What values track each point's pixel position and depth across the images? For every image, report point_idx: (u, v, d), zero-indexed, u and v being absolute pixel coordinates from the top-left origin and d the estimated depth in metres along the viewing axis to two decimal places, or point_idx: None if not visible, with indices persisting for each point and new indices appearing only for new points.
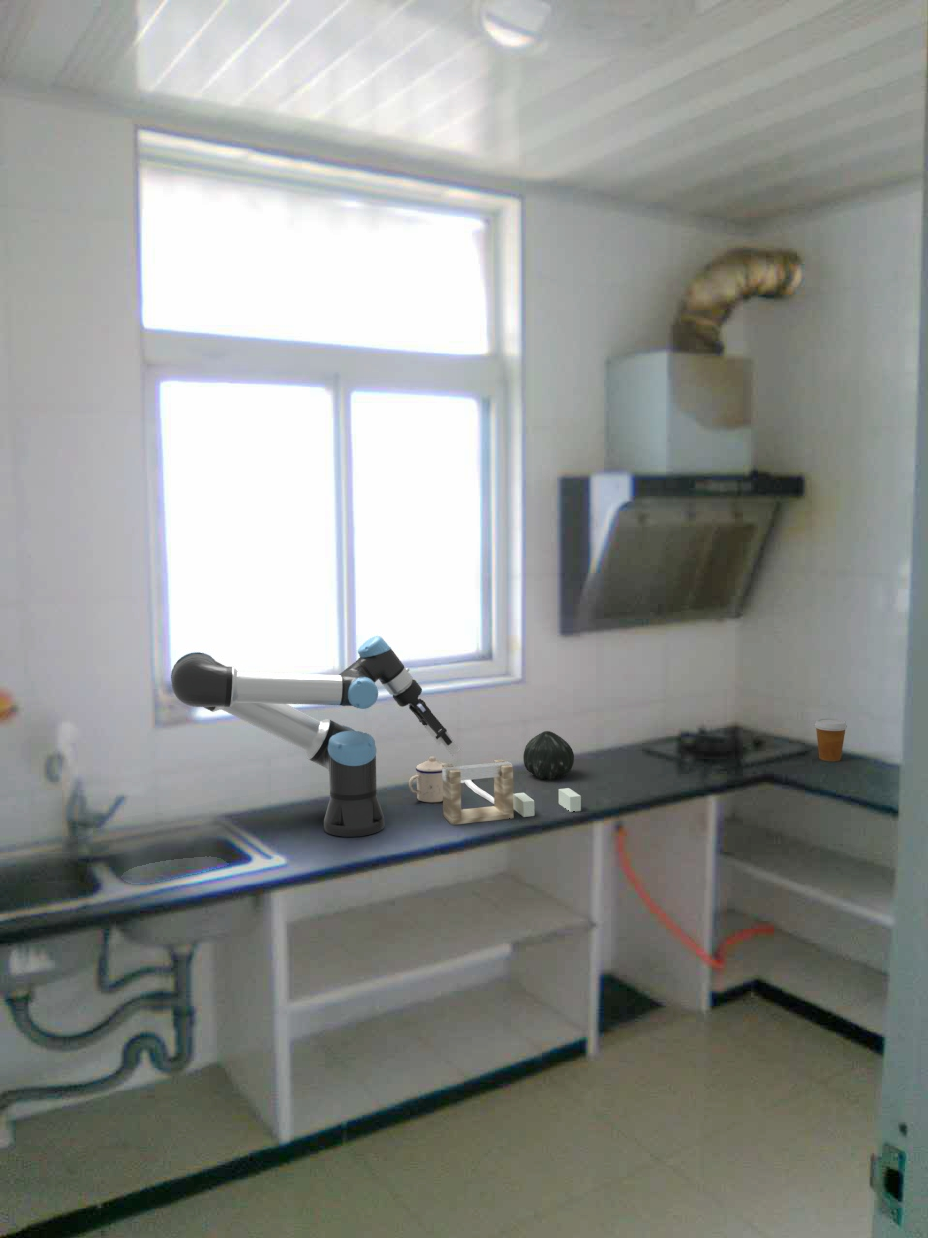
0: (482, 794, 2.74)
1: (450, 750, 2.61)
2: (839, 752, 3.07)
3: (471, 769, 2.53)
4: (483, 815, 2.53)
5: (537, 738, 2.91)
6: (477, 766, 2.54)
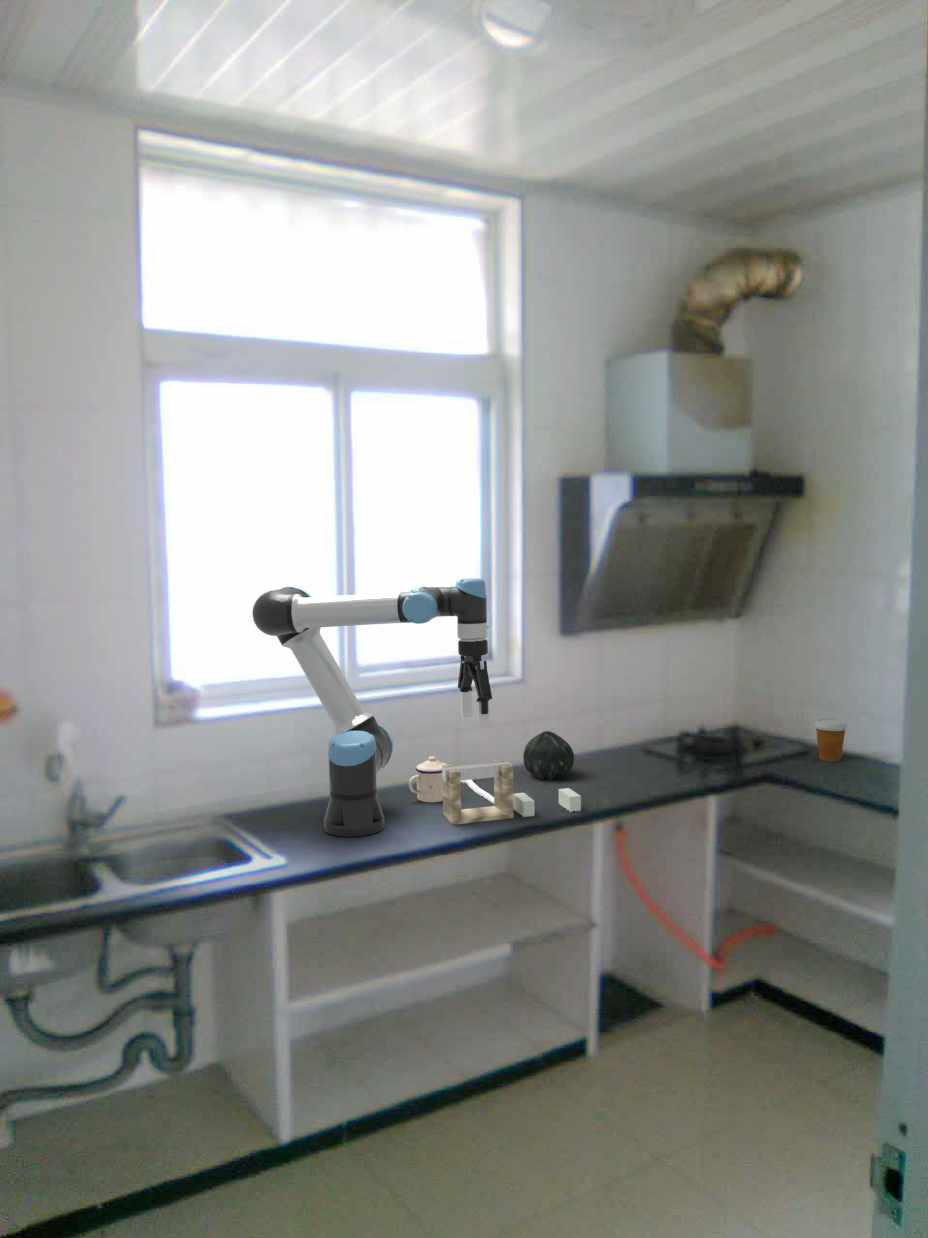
0: (483, 794, 2.74)
1: (480, 720, 2.47)
2: (839, 752, 3.07)
3: (471, 769, 2.53)
4: (483, 815, 2.53)
5: (537, 738, 2.91)
6: (477, 766, 2.54)
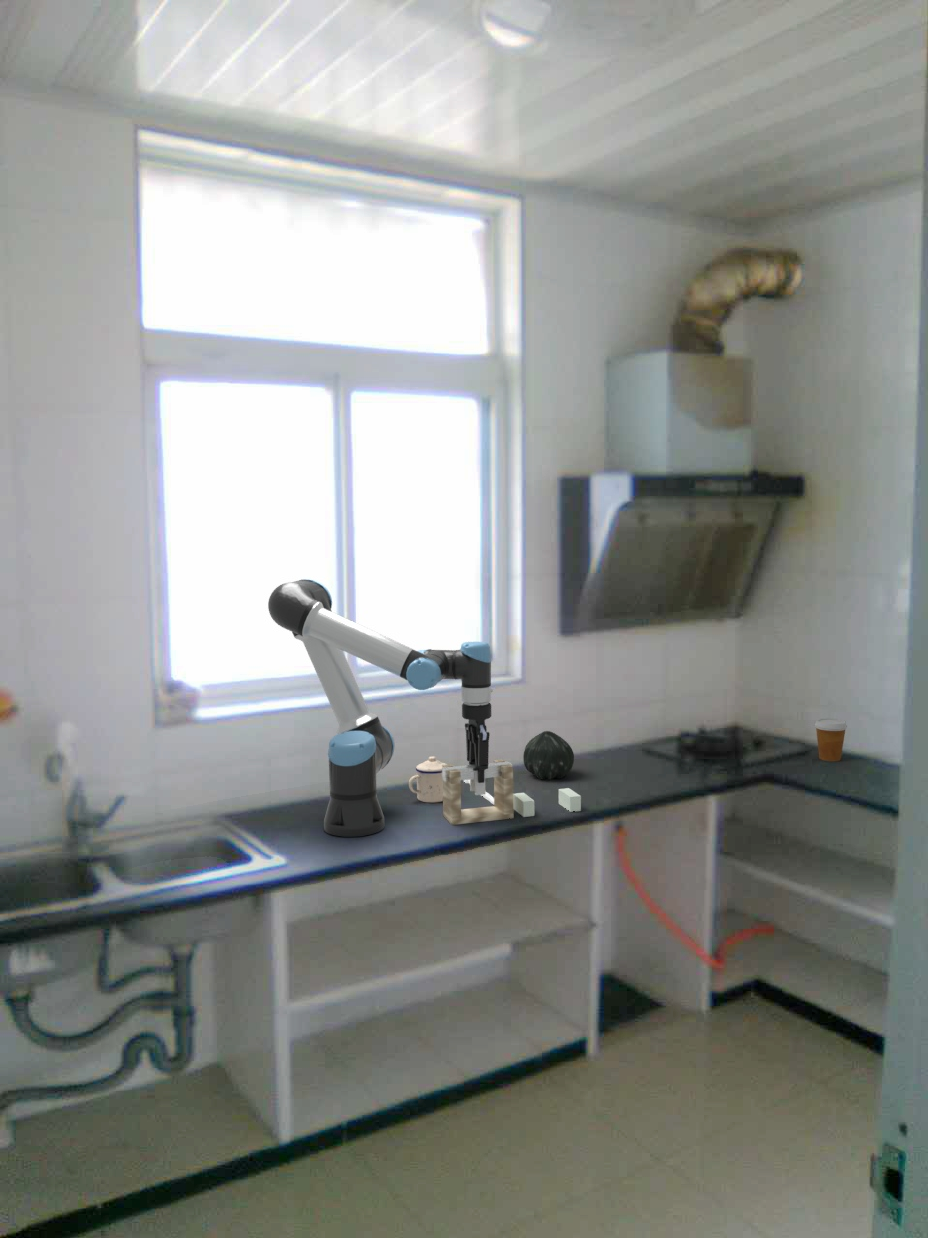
0: (483, 794, 2.74)
1: (477, 788, 2.53)
2: (839, 752, 3.07)
3: (471, 769, 2.53)
4: (483, 815, 2.53)
5: (537, 738, 2.91)
6: None
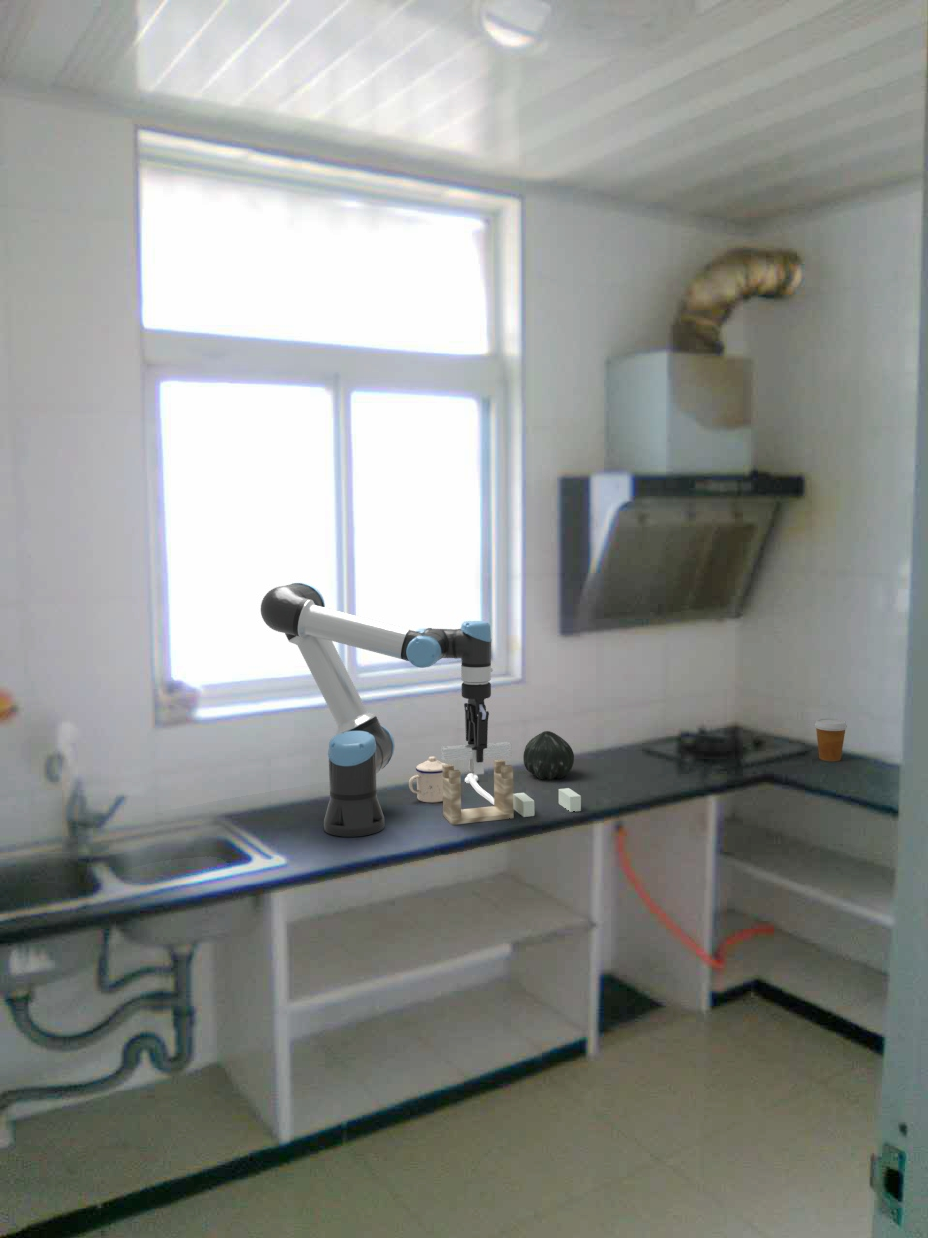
0: (484, 795, 2.73)
1: (475, 768, 2.52)
2: (839, 752, 3.07)
3: (470, 749, 2.52)
4: (483, 815, 2.53)
5: (537, 738, 2.91)
6: None
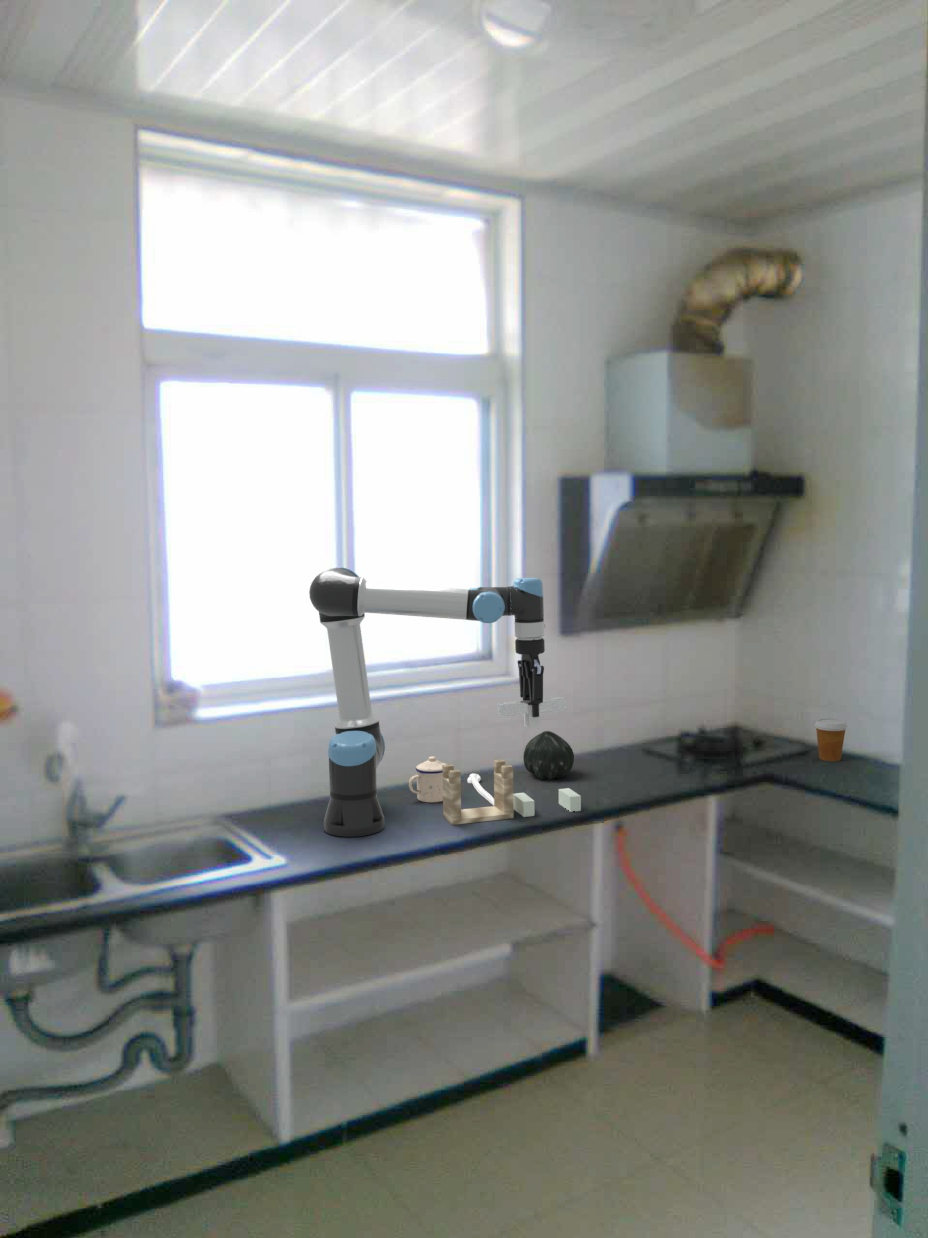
0: (484, 795, 2.73)
1: (531, 723, 2.55)
2: (839, 752, 3.07)
3: (525, 704, 2.55)
4: (483, 815, 2.53)
5: (537, 738, 2.91)
6: None
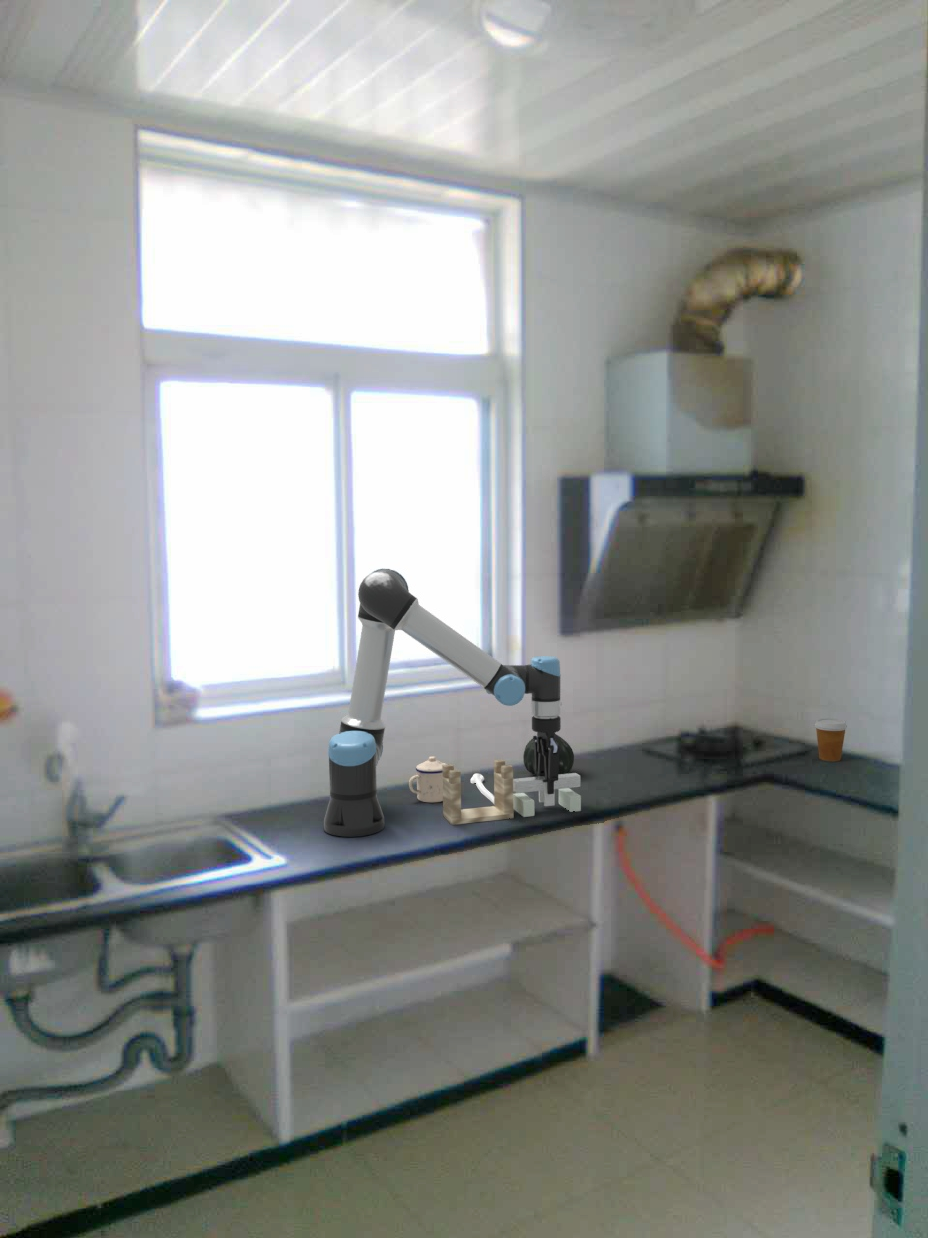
0: (487, 795, 2.73)
1: (546, 800, 2.59)
2: (839, 752, 3.07)
3: (541, 781, 2.59)
4: (483, 815, 2.53)
5: None
6: None
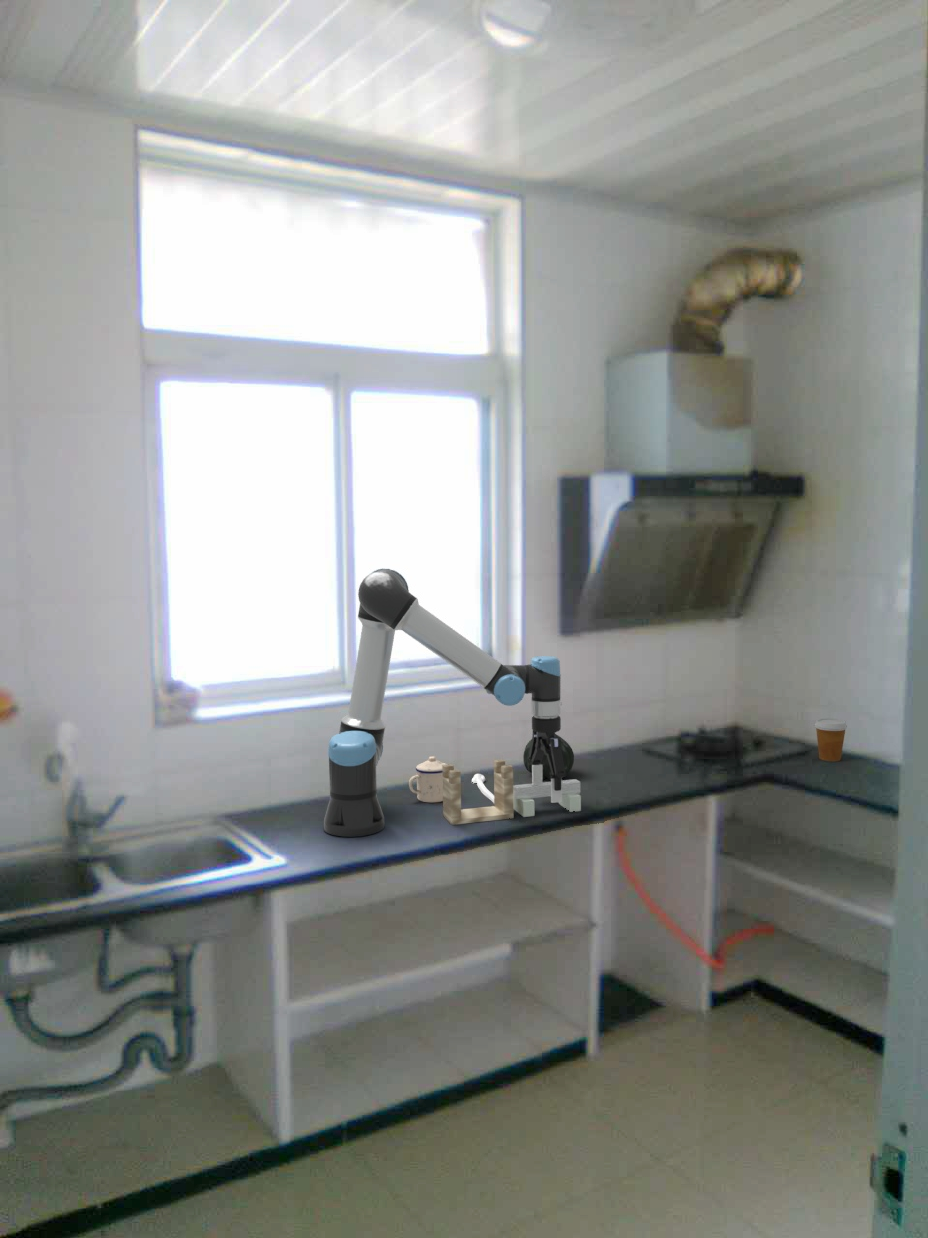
0: (488, 795, 2.73)
1: (553, 796, 2.54)
2: (839, 752, 3.07)
3: (541, 787, 2.59)
4: (483, 815, 2.53)
5: None
6: (546, 784, 2.60)
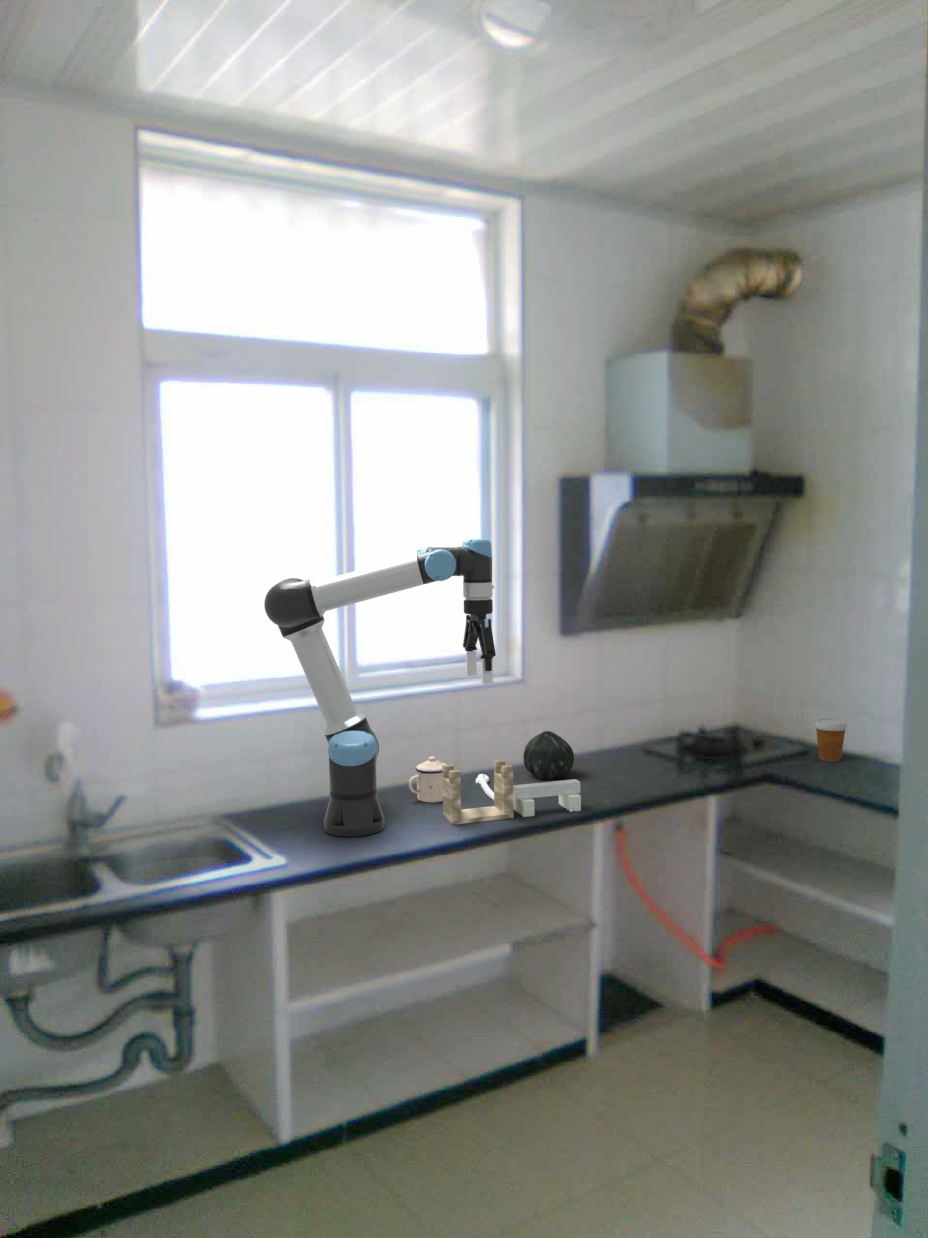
0: (491, 795, 2.72)
1: (484, 677, 2.53)
2: (839, 752, 3.07)
3: (541, 787, 2.59)
4: (483, 815, 2.53)
5: (537, 738, 2.91)
6: (546, 784, 2.60)
